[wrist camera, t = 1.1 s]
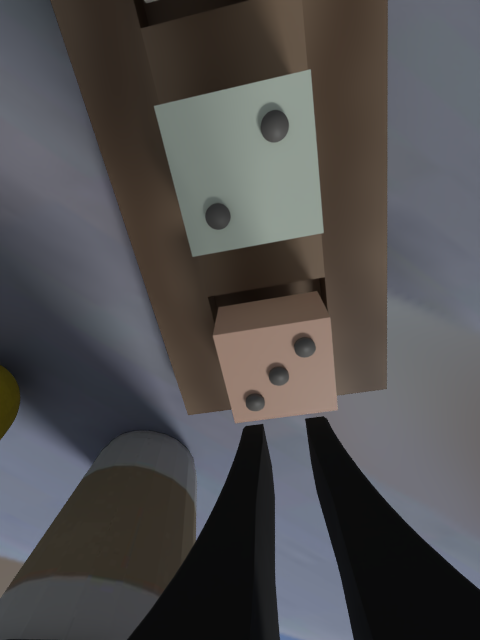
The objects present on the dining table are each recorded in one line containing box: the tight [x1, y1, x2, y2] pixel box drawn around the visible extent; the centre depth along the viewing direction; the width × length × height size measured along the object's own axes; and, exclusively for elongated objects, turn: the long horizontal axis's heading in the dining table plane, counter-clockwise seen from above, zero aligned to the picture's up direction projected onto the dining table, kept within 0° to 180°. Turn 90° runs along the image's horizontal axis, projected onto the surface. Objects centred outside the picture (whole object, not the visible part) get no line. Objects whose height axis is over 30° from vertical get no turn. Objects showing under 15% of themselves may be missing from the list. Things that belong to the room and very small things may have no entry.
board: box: [50, 0, 388, 415], centre depth 15 cm, size 12×26×2 cm, turn 11°
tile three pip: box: [213, 291, 338, 423], centre depth 16 cm, size 5×5×3 cm
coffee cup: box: [0, 431, 197, 640], centre depth 19 cm, size 11×11×15 cm
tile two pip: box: [154, 69, 324, 257], centre depth 13 cm, size 5×5×3 cm
